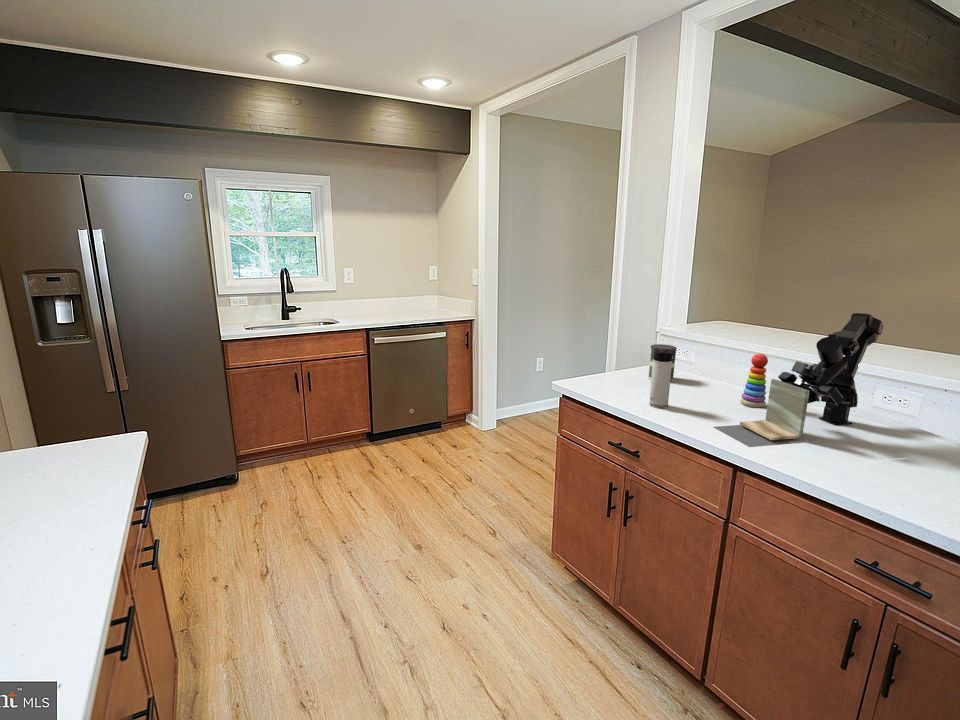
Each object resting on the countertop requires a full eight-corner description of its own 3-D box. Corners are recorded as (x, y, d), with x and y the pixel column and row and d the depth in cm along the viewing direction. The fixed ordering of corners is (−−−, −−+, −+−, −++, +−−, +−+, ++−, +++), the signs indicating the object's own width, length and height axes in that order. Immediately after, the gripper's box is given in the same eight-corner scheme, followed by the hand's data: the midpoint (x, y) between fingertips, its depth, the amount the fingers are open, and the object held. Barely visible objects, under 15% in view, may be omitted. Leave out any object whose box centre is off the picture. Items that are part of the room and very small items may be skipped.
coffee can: (675, 382, 204) (679, 349, 201) (650, 381, 206) (653, 348, 202) (670, 376, 214) (673, 344, 211) (646, 375, 216) (648, 343, 212)
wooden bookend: (768, 424, 154) (774, 379, 151) (801, 440, 142) (809, 390, 138) (739, 426, 152) (745, 380, 149) (771, 442, 140) (778, 392, 136)
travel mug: (648, 407, 172) (653, 351, 167) (649, 402, 178) (654, 348, 173) (667, 409, 169) (672, 353, 165) (668, 404, 175) (673, 349, 171)
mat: (751, 424, 155) (752, 424, 155) (792, 444, 139) (792, 443, 139) (712, 427, 152) (712, 426, 152) (749, 447, 137) (749, 446, 137)
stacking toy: (763, 409, 169) (771, 357, 165) (738, 405, 174) (744, 354, 170) (766, 404, 175) (774, 353, 171) (742, 400, 180) (748, 350, 176)
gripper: (787, 346, 152) (752, 382, 153) (841, 359, 134) (801, 399, 135) (805, 369, 155) (770, 404, 156) (860, 385, 138) (820, 425, 138)
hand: (789, 407), depth 146 cm, fingers closed, pressing on wooden bookend
